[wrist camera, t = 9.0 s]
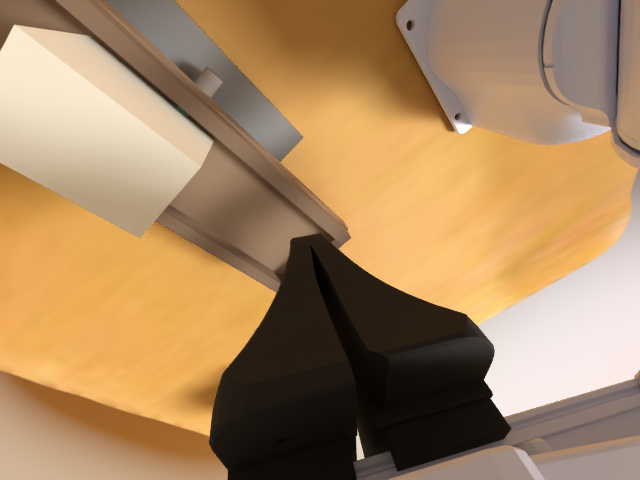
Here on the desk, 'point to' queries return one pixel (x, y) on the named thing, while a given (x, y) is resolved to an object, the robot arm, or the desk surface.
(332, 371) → the robot arm
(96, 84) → the block
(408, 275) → the desk surface
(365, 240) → the desk surface
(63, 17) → the balance beam
